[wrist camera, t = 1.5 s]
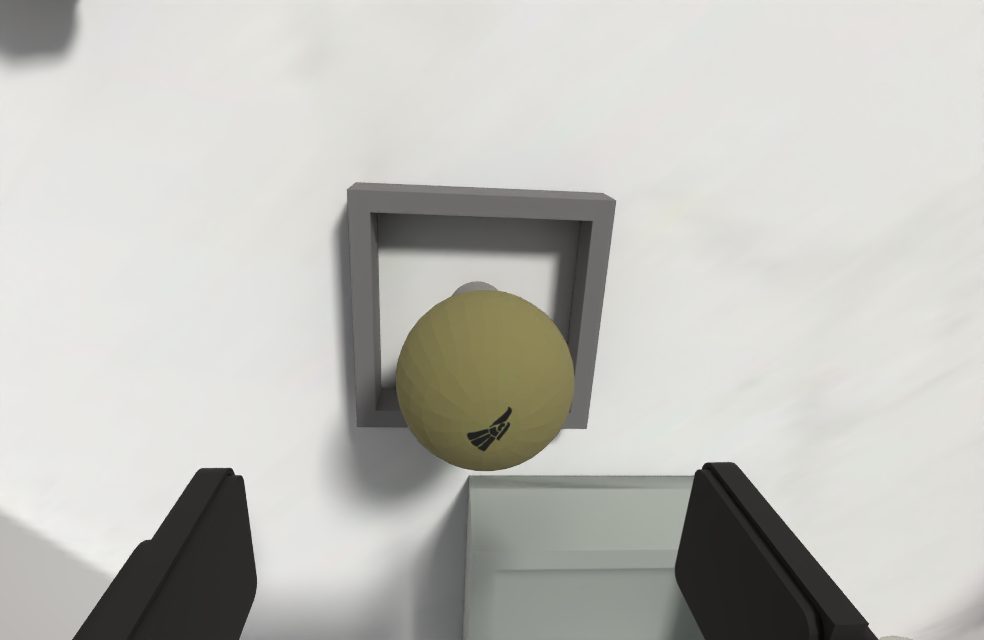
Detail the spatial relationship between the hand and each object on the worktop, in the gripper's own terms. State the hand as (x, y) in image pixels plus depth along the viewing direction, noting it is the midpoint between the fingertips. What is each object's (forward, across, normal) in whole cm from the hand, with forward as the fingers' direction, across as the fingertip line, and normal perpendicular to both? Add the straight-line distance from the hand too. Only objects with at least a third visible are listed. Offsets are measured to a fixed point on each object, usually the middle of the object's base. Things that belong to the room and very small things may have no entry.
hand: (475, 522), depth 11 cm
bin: (+13, -8, +16) cm, 22 cm away
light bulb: (+14, -1, 0) cm, 14 cm away
